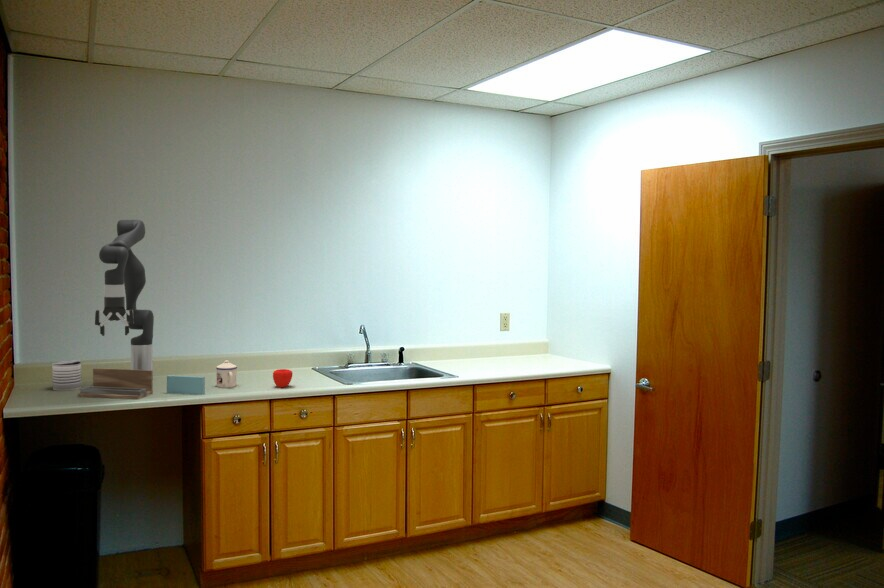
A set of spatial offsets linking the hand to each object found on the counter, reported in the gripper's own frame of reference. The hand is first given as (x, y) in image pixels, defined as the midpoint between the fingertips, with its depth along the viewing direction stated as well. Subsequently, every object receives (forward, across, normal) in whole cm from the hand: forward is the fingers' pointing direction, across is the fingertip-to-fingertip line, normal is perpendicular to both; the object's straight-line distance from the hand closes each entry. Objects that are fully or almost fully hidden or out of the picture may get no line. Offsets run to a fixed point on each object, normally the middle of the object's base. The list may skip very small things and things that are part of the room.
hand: (114, 335), depth 286 cm
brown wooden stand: (+26, +1, -7) cm, 27 cm away
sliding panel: (+26, -27, -5) cm, 38 cm away
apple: (+27, -68, -12) cm, 74 cm away
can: (+26, +23, -27) cm, 44 cm away
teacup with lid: (+27, -44, -17) cm, 54 cm away
